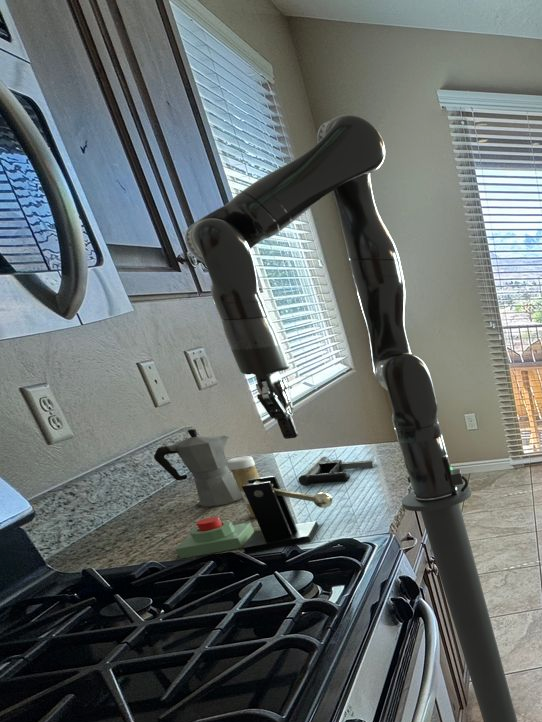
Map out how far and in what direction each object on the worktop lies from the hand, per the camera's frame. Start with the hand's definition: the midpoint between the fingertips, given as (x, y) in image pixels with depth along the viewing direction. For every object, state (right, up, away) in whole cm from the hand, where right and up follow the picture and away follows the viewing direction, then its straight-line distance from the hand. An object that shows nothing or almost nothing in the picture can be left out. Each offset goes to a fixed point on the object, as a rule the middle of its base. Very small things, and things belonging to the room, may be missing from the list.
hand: (291, 437), depth 110 cm
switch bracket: (-6, -20, +6) cm, 22 cm away
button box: (-19, -21, +5) cm, 29 cm away
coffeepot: (-40, -11, +29) cm, 51 cm away
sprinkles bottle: (-22, -14, +20) cm, 33 cm away
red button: (-19, -18, +3) cm, 26 cm away
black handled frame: (-21, -2, +46) cm, 50 cm away
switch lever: (-3, -12, +4) cm, 13 cm away
